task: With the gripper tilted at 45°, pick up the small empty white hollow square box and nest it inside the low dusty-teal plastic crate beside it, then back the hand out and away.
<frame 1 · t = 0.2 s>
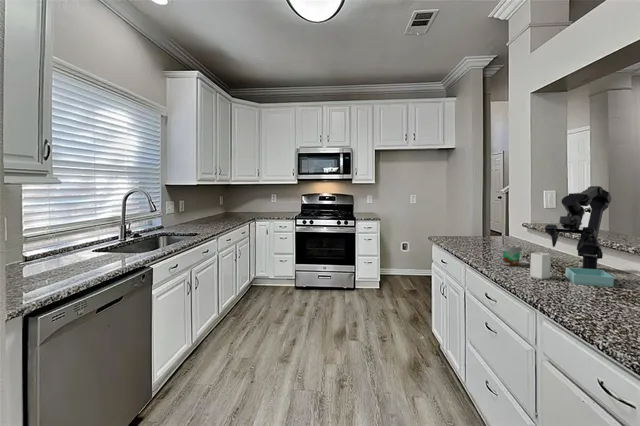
hand: (565, 248, 154), 14 cm above the worktop, tool tilted 35°, fingers open, 9 cm apart
food container: (513, 265, 183), on the worktop
crate: (588, 281, 152), on the worktop
white hollow square box: (539, 277, 159), on the worktop
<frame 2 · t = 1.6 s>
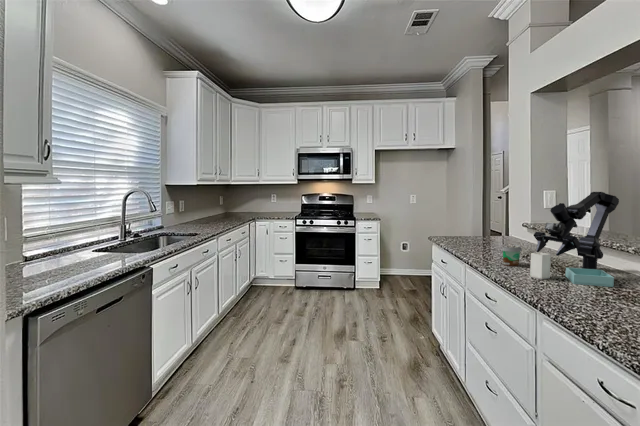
hand: (546, 253, 160), 11 cm above the worktop, tool tilted 45°, fingers open, 9 cm apart
nothing on the worktop moved.
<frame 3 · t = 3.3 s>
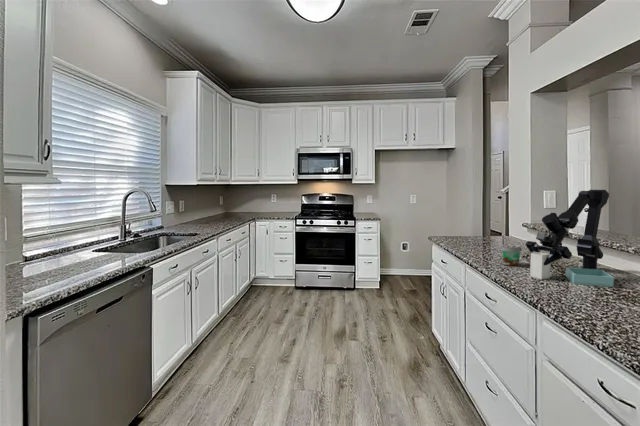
hand: (538, 263, 158), 7 cm above the worktop, tool tilted 45°, fingers closed on white hollow square box, 5 cm apart
white hollow square box: (539, 277, 159), on the worktop, touching gripper
everything else where it was.
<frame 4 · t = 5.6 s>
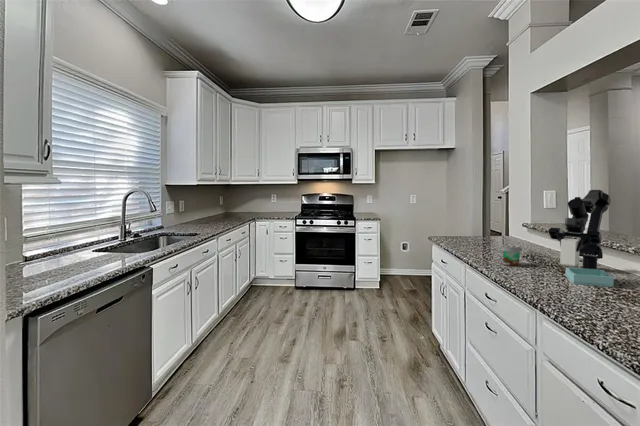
hand: (569, 250, 152), 14 cm above the worktop, tool tilted 45°, fingers closed on white hollow square box, 5 cm apart
white hollow square box: (569, 264, 153), point 7 cm above the worktop, touching gripper
everything else where it was.
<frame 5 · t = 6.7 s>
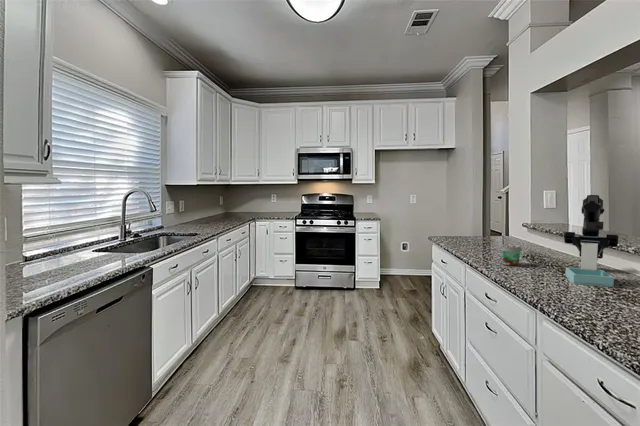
hand: (589, 254, 150), 12 cm above the worktop, tool tilted 45°, fingers closed on white hollow square box, 5 cm apart
white hollow square box: (588, 268, 152), point 5 cm above the worktop, touching gripper
everything else where it was.
when the fingers open (9 cm above the worktop, at t = 7.7 s): white hollow square box drops 1 cm, resting on crate.
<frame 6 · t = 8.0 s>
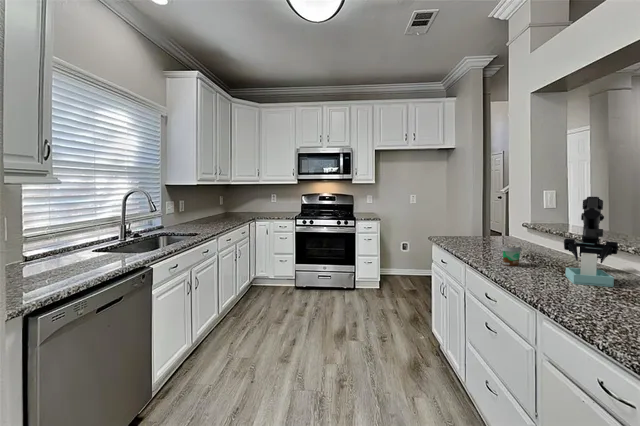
hand: (588, 261, 150), 9 cm above the worktop, tool tilted 45°, fingers open, 8 cm apart
white hollow square box: (588, 279, 152), point 1 cm above the worktop, touching crate
everything else where it was.
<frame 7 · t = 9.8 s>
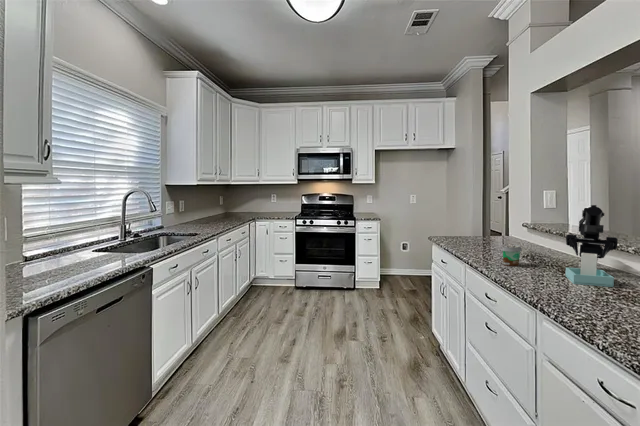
hand: (589, 256, 158), 10 cm above the worktop, tool tilted 45°, fingers open, 9 cm apart
nothing on the worktop moved.
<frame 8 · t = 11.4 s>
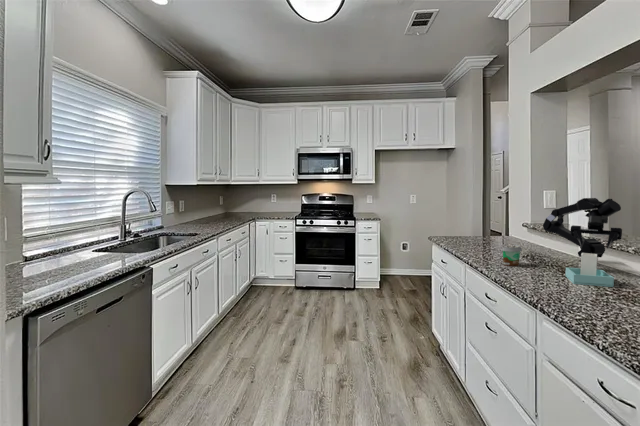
hand: (594, 246, 159), 14 cm above the worktop, tool tilted 45°, fingers open, 9 cm apart
nothing on the worktop moved.
at the end: white hollow square box inside the target area on the crate (0.1 cm from its centre), point 0.8 cm above the crate's base; white hollow square box tilted 0°; the gripper is holding nothing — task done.
